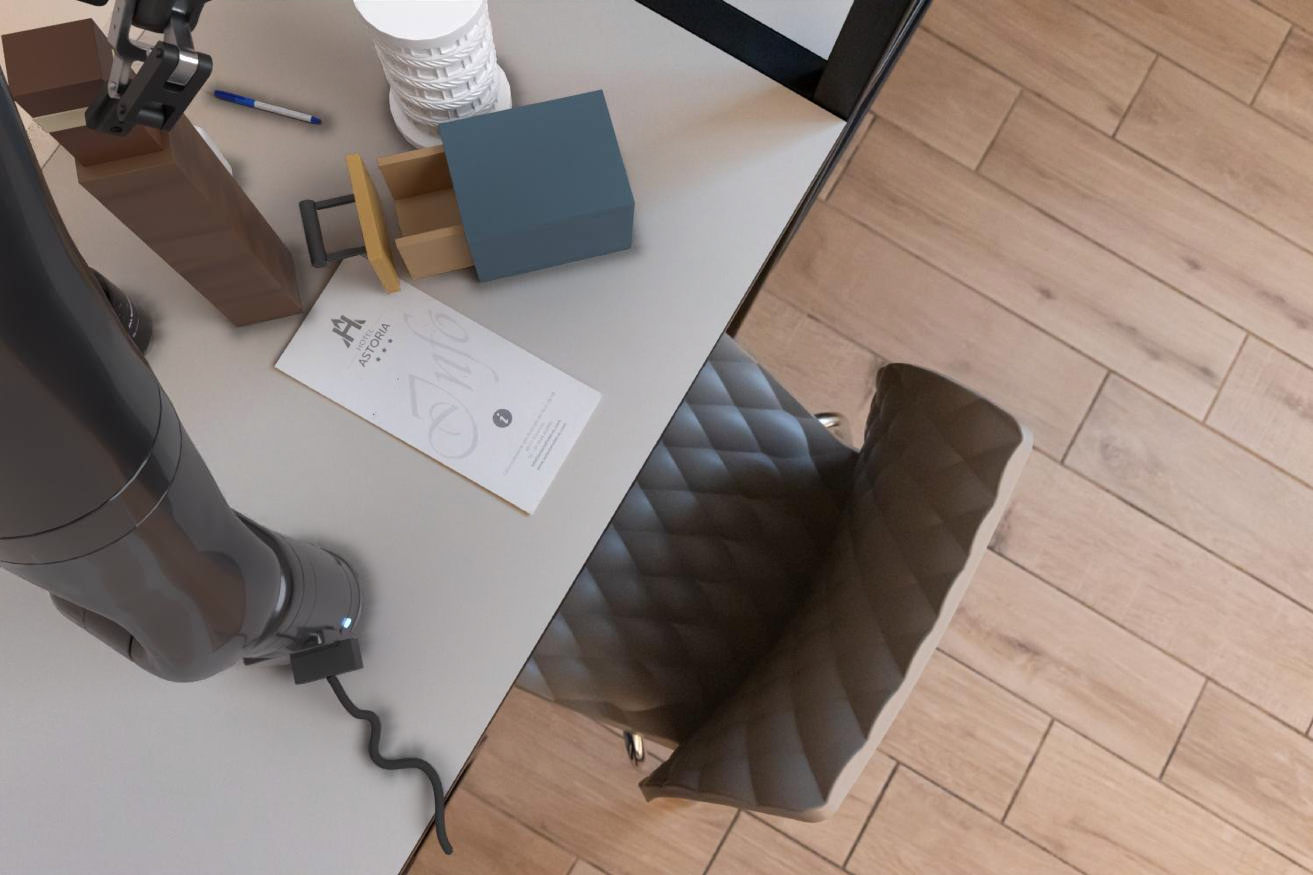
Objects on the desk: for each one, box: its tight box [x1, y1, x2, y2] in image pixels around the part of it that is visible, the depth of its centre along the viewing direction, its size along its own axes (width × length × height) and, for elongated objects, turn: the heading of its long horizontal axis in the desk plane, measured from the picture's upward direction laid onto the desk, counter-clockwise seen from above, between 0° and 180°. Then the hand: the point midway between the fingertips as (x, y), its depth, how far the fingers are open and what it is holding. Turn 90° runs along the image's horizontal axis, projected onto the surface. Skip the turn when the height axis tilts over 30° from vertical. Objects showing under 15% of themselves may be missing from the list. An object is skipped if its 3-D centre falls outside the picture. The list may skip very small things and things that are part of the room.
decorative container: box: [352, 0, 513, 150], centre depth 87 cm, size 12×12×18 cm
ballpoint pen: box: [213, 89, 322, 124], centre depth 94 cm, size 10×1×1 cm, turn 76°
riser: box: [73, 112, 304, 329], centre depth 77 cm, size 6×6×28 cm
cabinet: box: [438, 89, 636, 283], centre depth 89 cm, size 15×11×10 cm
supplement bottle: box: [89, 266, 153, 355], centre depth 83 cm, size 7×7×12 cm
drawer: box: [298, 144, 475, 295], centre depth 87 cm, size 19×10×8 cm, turn 105°
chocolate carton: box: [0, 17, 163, 167], centre depth 59 cm, size 4×5×8 cm
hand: (92, 61), depth 56 cm, fingers open, 8 cm apart
